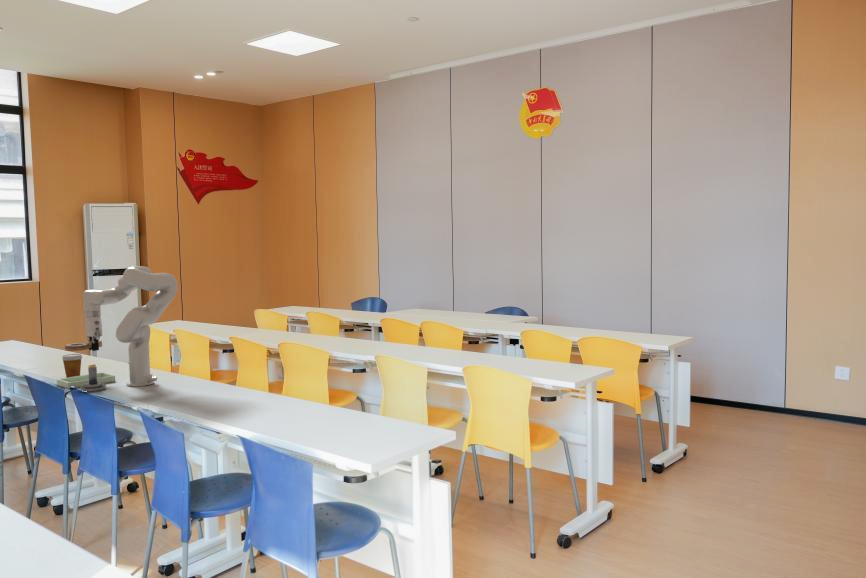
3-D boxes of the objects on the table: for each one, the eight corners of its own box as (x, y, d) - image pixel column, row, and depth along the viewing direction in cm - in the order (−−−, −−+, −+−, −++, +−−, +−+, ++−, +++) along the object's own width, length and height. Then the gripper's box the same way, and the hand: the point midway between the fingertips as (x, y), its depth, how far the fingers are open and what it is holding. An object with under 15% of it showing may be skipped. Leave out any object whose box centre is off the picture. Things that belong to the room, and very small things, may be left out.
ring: (70, 351, 339) (70, 345, 339) (62, 349, 346) (62, 343, 345) (104, 347, 351) (104, 341, 351) (96, 345, 358) (96, 339, 357)
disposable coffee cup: (87, 375, 370) (85, 353, 369) (76, 379, 360) (74, 356, 359) (70, 375, 371) (69, 353, 370) (59, 379, 361) (57, 356, 360)
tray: (103, 378, 363) (103, 372, 362) (115, 381, 353) (115, 375, 353) (57, 385, 346) (56, 379, 346) (68, 389, 336) (68, 383, 336)
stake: (110, 389, 334) (108, 364, 333) (86, 393, 326) (84, 368, 325) (100, 386, 342) (99, 362, 341) (77, 390, 334) (75, 365, 333)
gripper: (106, 314, 348) (108, 351, 349) (93, 312, 359) (94, 347, 360) (91, 316, 342) (92, 352, 344) (78, 313, 353) (79, 349, 355)
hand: (93, 349), depth 352 cm, fingers closed on ring, 3 cm apart
